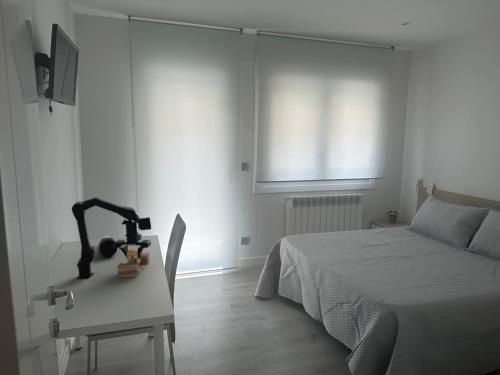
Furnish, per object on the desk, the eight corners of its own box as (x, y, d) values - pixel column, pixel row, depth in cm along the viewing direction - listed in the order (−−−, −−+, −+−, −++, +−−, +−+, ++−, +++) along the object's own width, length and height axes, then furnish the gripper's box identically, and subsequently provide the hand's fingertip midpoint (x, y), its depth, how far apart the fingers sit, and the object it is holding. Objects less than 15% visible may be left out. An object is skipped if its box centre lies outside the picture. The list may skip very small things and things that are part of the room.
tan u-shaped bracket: (140, 261, 194) (139, 250, 193) (138, 263, 191) (137, 251, 190) (129, 261, 194) (128, 250, 193) (127, 263, 191) (126, 251, 190)
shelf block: (136, 276, 183) (135, 264, 182) (118, 276, 183) (117, 264, 182) (149, 262, 203) (148, 251, 202) (132, 262, 203) (131, 251, 202)
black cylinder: (109, 248, 244) (115, 234, 245) (113, 258, 213) (120, 243, 214) (95, 244, 240) (101, 230, 241) (96, 253, 209) (103, 237, 210)
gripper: (153, 227, 197) (155, 253, 200) (120, 227, 198) (122, 253, 200) (146, 232, 186) (148, 261, 189) (112, 233, 187) (114, 261, 189)
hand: (133, 258), depth 192 cm, fingers closed on tan u-shaped bracket, 6 cm apart
